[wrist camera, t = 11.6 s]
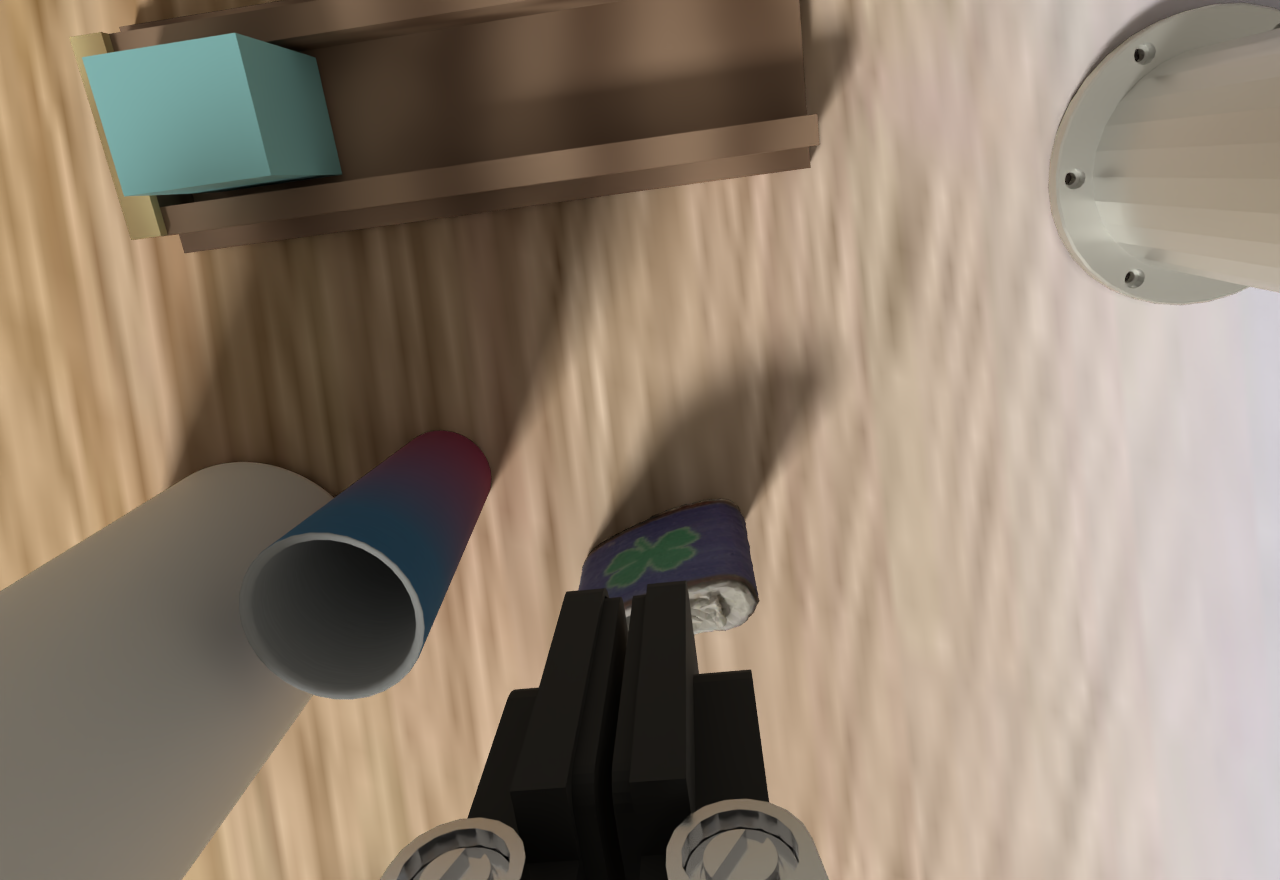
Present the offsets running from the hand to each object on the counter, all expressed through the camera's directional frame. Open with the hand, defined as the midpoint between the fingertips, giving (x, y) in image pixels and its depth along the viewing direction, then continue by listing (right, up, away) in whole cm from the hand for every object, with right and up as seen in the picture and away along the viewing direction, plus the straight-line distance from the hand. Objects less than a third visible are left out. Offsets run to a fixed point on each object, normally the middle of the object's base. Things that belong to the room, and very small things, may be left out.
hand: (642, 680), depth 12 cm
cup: (-10, +2, +33) cm, 35 cm away
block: (-17, +18, +27) cm, 36 cm away
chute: (-8, +19, +27) cm, 34 cm away
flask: (+1, -2, +34) cm, 34 cm away
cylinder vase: (-21, -3, +35) cm, 41 cm away
